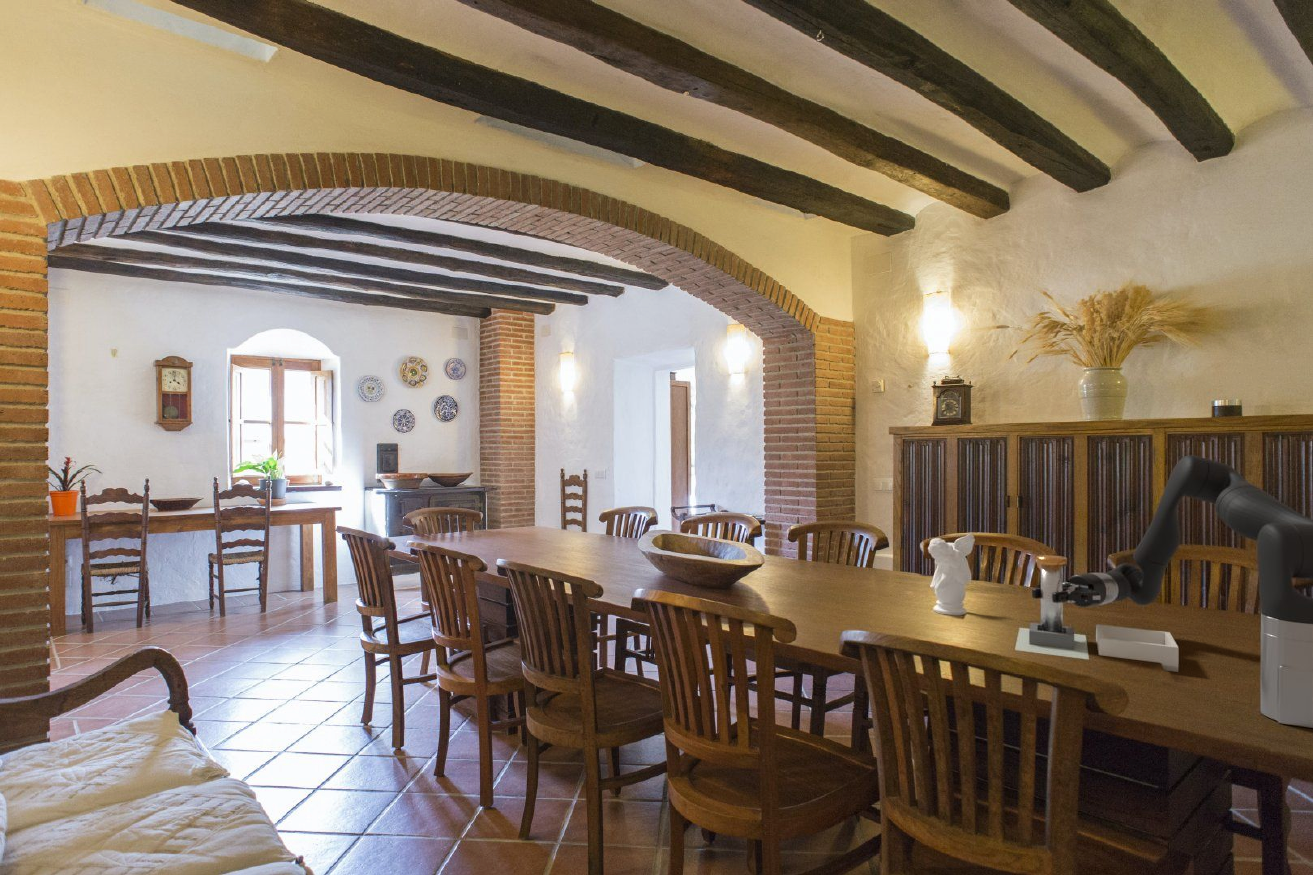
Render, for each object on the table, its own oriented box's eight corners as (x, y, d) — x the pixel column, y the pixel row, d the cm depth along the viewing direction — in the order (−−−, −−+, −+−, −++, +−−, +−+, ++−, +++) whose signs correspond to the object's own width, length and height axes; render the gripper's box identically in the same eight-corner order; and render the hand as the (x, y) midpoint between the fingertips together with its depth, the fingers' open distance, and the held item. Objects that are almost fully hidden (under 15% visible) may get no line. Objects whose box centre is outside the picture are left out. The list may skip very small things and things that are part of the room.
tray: (1178, 671, 152) (1178, 647, 152) (1098, 661, 159) (1099, 638, 159) (1169, 654, 164) (1169, 632, 164) (1096, 645, 171) (1096, 624, 171)
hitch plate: (1088, 666, 155) (1089, 645, 155) (1014, 656, 162) (1014, 636, 162) (1085, 641, 174) (1085, 622, 174) (1019, 633, 181) (1019, 615, 181)
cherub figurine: (929, 614, 201) (928, 533, 202) (927, 604, 213) (926, 528, 213) (977, 617, 198) (976, 534, 198) (973, 607, 209) (972, 529, 210)
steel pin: (1067, 641, 164) (1066, 560, 164) (1036, 637, 167) (1036, 557, 167) (1066, 635, 169) (1066, 556, 169) (1037, 631, 172) (1037, 554, 172)
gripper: (1063, 568, 181) (1015, 573, 173) (1122, 578, 168) (1073, 584, 160) (1063, 599, 181) (1015, 606, 173) (1122, 611, 168) (1073, 619, 160)
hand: (1044, 595), depth 167 cm, fingers closed on steel pin, 4 cm apart
